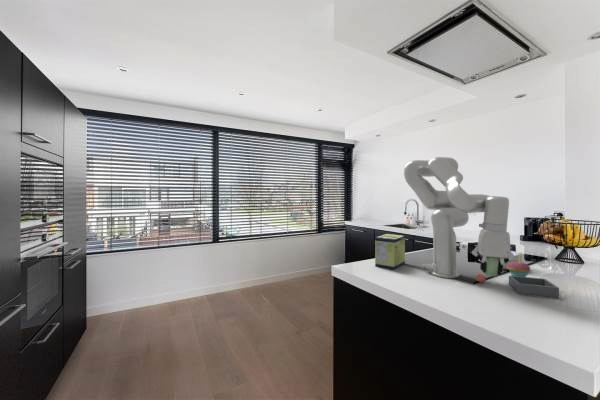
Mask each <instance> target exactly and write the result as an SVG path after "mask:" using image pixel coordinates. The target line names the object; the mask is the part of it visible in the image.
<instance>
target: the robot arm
mask: <svg viewBox="0 0 600 400" xmlns="http://www.w3.org/2000/svg"><path fill="white" fill-rule="evenodd" d="M403 169H404V170H403V176H404V179H405V181H406V183H407V185H408V186H409V188H411V189H412V190H413V192H414V193H415V195H416V197H418V199H419V200H420V202H421V203H422V205H423V206H424V207H425V208H426V209H427V210H431V211H432V213H431V217H430V220H431V225H432V235H433V236H432V237H433V238H432V240H433V243H432V246H433V260H432V263H423V264H422V268H423V269H424V268H425V269H426V270H427V269H428V270H429V273H430V274H431V275H433V276H436V277H439V278H443V279H444V278H447V279H457V278H460V276H461V273H460V272H459V271H457V235H456V232H455V230H454V228H459V227H460V228H461V227H464V226H465V225H467V224H468V222H469V214H474V213H484V214H483V222H482V223H479V224H478V227H479V228H481V229H480V231H479V235H478V240H477V245H476V247H475V248H474V249H473V250H472V251H471V252H470V253H471V254H472V255H473V256H474V257H476V258H477V259H478V260H479V261H480V264H479V266H480V267H479V269H480V271H481V272H483V274H484V273H485V272H486V263H485V260H486V257H487V256H488V257H497V258H499V266H498V275H500V276H501V274H502V273H503V270H504V269H503V265H504V264H505V263H506V262H508V261H509V260H512V259H514V258H515V257H514V255H513V254H512V253H511V251H512V250H511V236H510V232H509V231H507V230H508V218H509V209H510V199H509V198H508V197H506V196H498V195H495V196H493V195H488V194H481V193H479V194H469V193H468V192H466V190H465V189H464V188H463V187H461V185H460V184H461V183H462V182H463V180H464V176H463V174H462V172H460V171H459V164H458V161H457V160H456V159H455V158H454V157H448V156H447V157H445V156H444V157H443V156H437V157H433V158H431V159H430V160H427V159H426V160H424V159H423V160H422V159H416V160H411V161H410V160H409V162H407V163H406V164H405V166H404V168H403ZM425 177H428V178H429V177H435V178H436V179H437V181H439V182H440V183H441V184H442V186H444V187H445V190H437V189H435V187H434V186H433V185H432V184H431V183H430V181H429V180H427V179H425Z"/></svg>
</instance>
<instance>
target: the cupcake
mask: <svg viewBox="0 0 600 400" xmlns="http://www.w3.org/2000/svg"><path fill="white" fill-rule="evenodd" d="M519 254H520V257H519V262H515V261H513V262H510V263H508V264H507V265H506V267H507V269H506V270H509V272H510V276H520V277H527V276H528V274H529V273H531V266H530V265H528V264H526V263H525V262H522V255H523V254H522V253H519Z"/></svg>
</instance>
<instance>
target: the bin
mask: <svg viewBox="0 0 600 400" xmlns="http://www.w3.org/2000/svg"><path fill="white" fill-rule="evenodd" d="M508 286H509V287H510V288H511V289H512V290H513V291H514V292H515V293H516V294H517V295H520V296H521V295H523V296H529V297H539V298H548V299H550V298H551V299H557V300H558V299H560V287H558V286H557V285H556V284H554V283H552V281H549V280H548V279H546V278H540V277H539V278H538V277H529V276H528V277H527V276H526V277H520V276H511V275H508Z"/></svg>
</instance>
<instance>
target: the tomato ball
mask: <svg viewBox="0 0 600 400" xmlns="http://www.w3.org/2000/svg"><path fill="white" fill-rule="evenodd" d="M484 275H485V274H484ZM484 275H483V274H481V273H479V274H476V276H475V280H476V281H477V282H478V281H479V282H478V283H484V282H486V277H485V276H486V275H485V276H484Z"/></svg>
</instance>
